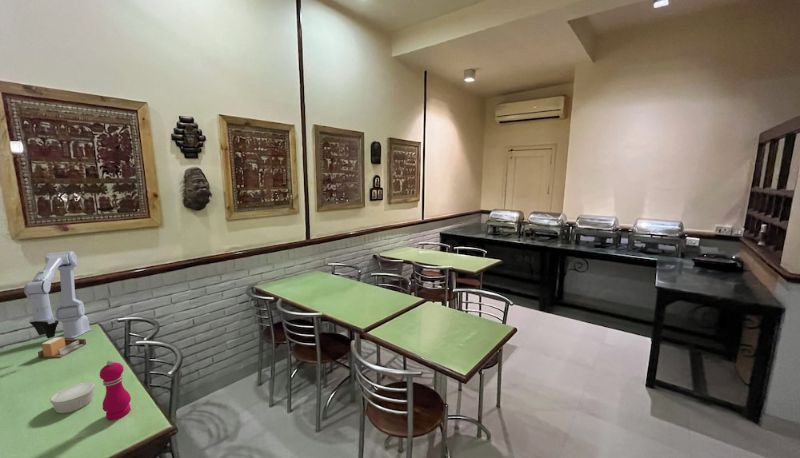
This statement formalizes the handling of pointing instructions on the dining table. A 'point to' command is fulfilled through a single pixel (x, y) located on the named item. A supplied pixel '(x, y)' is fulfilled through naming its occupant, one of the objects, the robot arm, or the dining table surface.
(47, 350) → the tan block
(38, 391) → the dining table surface
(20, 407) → the dining table surface
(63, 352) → the shelf
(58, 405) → the ramekin
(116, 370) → the pepper mill
